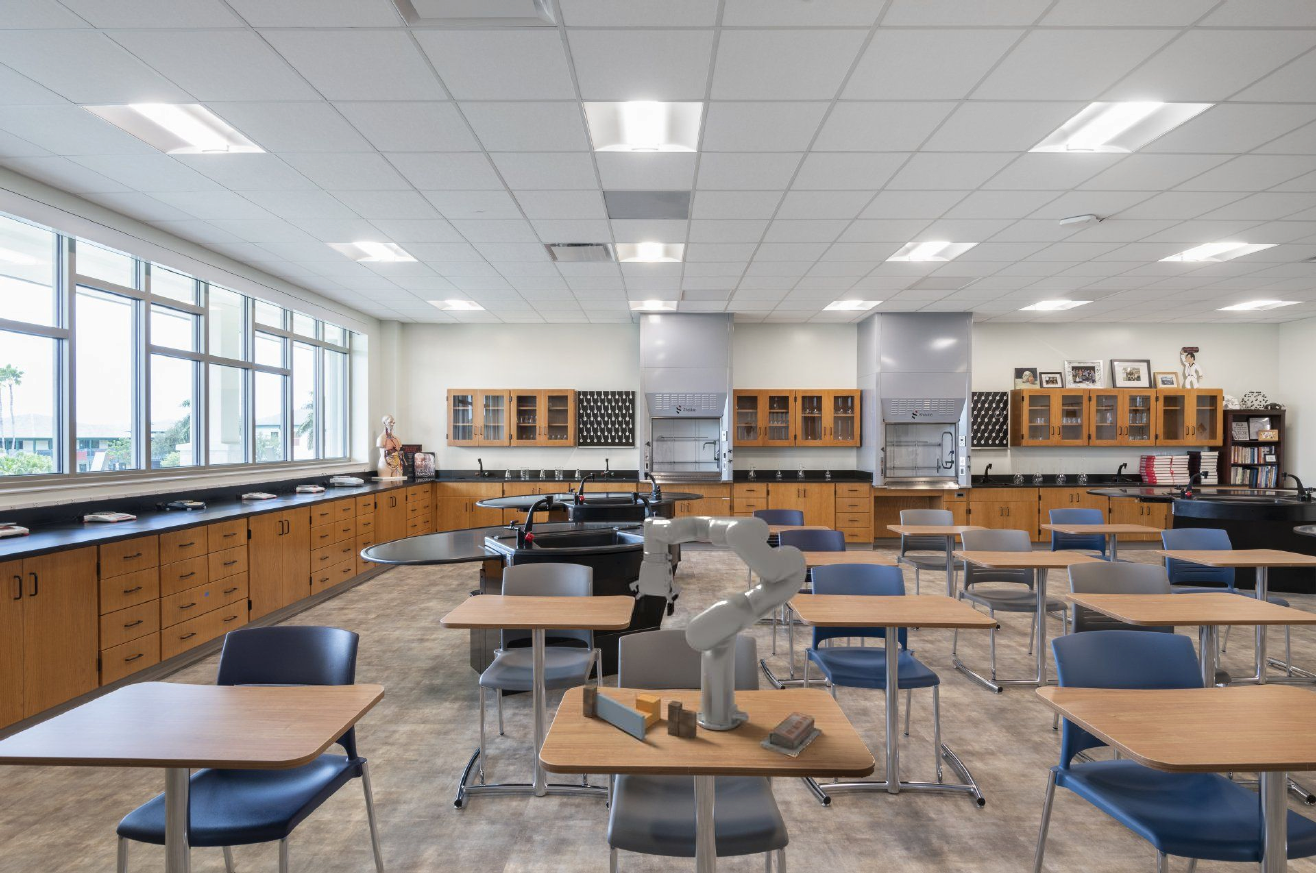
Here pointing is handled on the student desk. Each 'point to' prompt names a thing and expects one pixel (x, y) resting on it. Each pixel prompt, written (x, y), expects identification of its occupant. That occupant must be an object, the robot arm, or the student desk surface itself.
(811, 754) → the student desk surface
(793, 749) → the packaged product
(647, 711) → the orange stepped block
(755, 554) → the robot arm
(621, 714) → the gate door
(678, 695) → the student desk surface
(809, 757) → the student desk surface
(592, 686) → the wooden posts
